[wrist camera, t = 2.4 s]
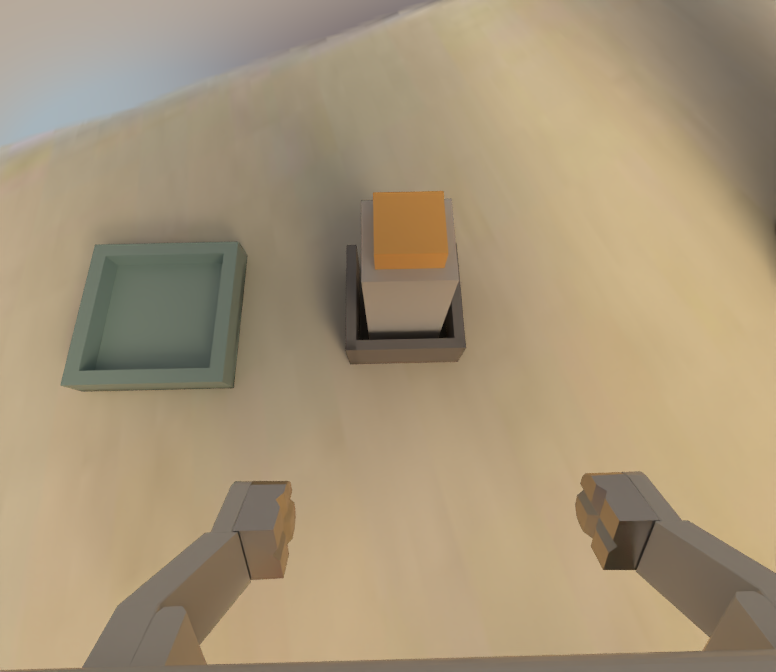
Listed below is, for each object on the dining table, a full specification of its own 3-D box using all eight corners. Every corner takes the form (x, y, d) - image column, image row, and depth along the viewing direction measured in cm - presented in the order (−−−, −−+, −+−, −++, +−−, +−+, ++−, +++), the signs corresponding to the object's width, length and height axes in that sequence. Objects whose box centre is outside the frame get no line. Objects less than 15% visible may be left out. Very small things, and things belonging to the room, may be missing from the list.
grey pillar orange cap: (432, 283, 32) (456, 179, 21) (436, 343, 30) (464, 265, 19) (369, 285, 32) (359, 181, 21) (370, 344, 30) (359, 267, 19)
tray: (247, 255, 33) (238, 241, 31) (233, 387, 29) (222, 381, 27) (112, 258, 33) (95, 244, 31) (82, 391, 29) (60, 385, 27)
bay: (449, 266, 32) (456, 243, 29) (457, 361, 30) (465, 347, 27) (351, 268, 32) (346, 245, 29) (350, 364, 30) (345, 350, 27)
